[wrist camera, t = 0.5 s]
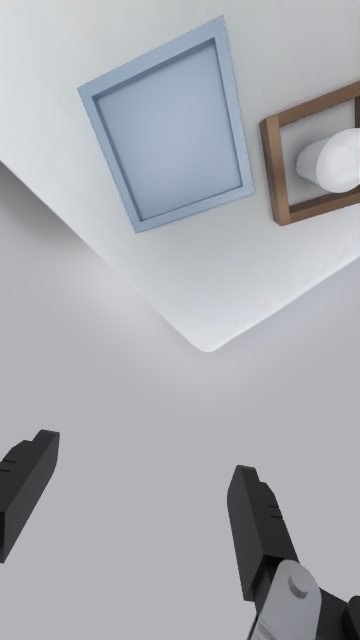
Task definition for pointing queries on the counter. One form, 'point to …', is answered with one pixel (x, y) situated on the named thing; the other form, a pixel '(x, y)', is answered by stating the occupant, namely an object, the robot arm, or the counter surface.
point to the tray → (172, 128)
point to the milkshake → (333, 161)
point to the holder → (276, 166)
